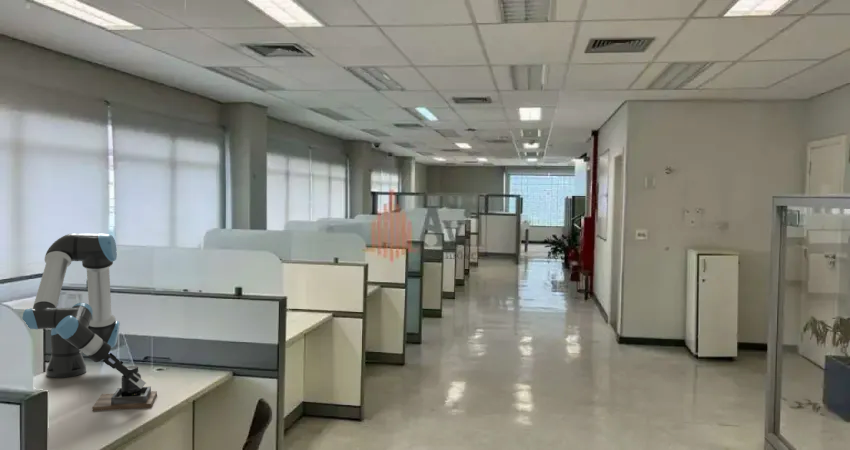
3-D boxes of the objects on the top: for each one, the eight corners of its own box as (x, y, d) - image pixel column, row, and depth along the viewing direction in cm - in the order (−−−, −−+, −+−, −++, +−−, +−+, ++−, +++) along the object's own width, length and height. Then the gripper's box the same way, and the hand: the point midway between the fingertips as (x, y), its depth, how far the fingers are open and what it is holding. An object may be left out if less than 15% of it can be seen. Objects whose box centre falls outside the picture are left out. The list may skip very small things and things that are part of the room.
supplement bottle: (118, 397, 239) (118, 366, 239) (136, 393, 244) (137, 363, 243) (125, 402, 234) (125, 370, 234) (143, 398, 239) (144, 367, 239)
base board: (101, 397, 243) (101, 387, 243) (156, 394, 249) (156, 385, 248) (92, 410, 229) (92, 400, 229) (150, 407, 234) (151, 397, 234)
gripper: (79, 349, 238) (121, 380, 248) (95, 364, 219) (140, 397, 229) (95, 333, 241) (135, 365, 251) (112, 347, 222) (155, 381, 232)
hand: (138, 381), depth 240 cm, fingers open, 13 cm apart
